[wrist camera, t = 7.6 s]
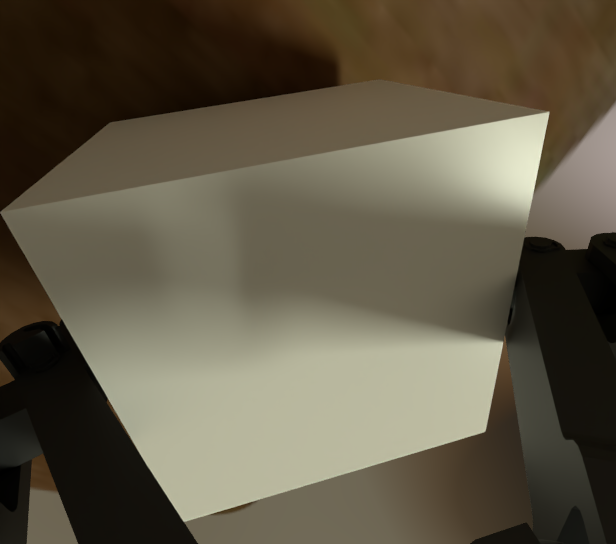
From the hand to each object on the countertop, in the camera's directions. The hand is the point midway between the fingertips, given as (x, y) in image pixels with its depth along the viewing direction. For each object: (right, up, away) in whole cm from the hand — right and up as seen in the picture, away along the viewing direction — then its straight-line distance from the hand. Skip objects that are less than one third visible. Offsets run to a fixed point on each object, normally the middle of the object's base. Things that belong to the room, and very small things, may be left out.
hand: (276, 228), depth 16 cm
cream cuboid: (0, 0, +1) cm, 1 cm away
